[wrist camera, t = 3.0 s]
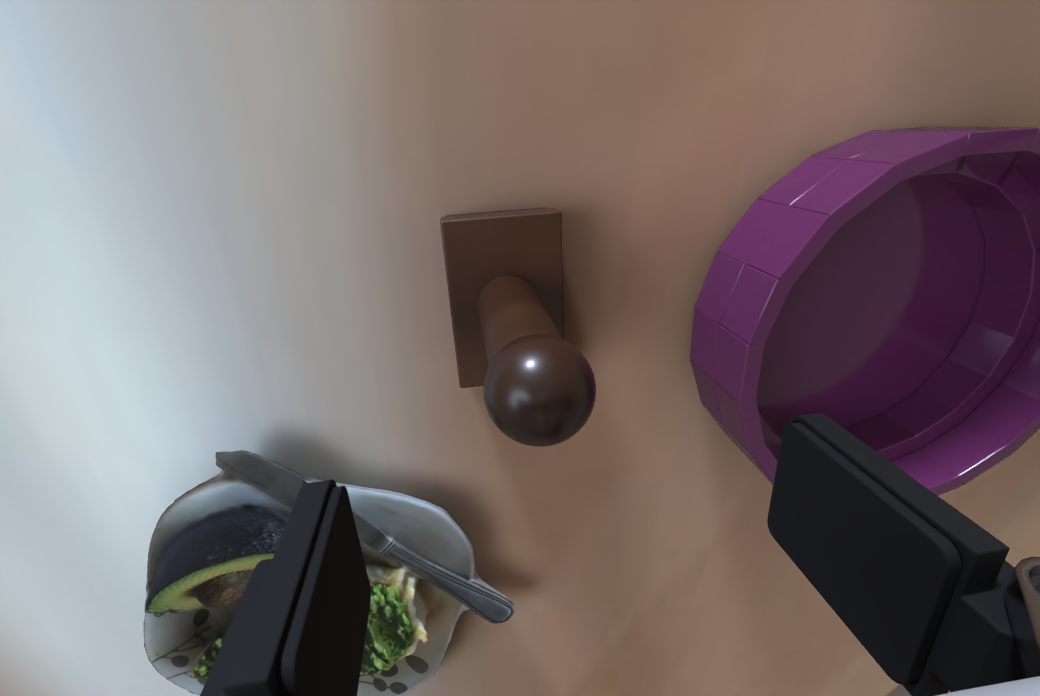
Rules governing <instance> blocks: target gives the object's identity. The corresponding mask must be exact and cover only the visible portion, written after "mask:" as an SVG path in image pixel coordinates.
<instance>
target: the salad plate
mask: <svg viewBox="0 0 1040 696" xmlns="http://www.w3.org/2000/svg"><path fill="white" fill-rule="evenodd" d="M216 465H217V466H218V467H220V468H221V469H222V471H221V472H220V473H219V474H218V475H217V476H215V477H213V478H211V479H210V480H208V481H206V482H204V483H202V484H199V485H198V486H196V487H195V488H193V489H192V490H190V491H188V492H186V493H185V494H183V495H182V496H180V497H179V498H177V499H176V500H175V501H174V503H173V504H172V505H170V506H169V507H168V508H167V509H166V510H165V511H164V512H163V514H162V515H161V517H160V519H159V521H158V523H157V525H156V528H155V530H154V532H153V535H152V539H151V542H150V548H149V553H148V566H147V568H148V571H147V585H146V591H147V597H146V601H145V619H144V646H145V650H146V653H147V656H148V659H149V661H150V662H151V664H152V665H153V666H154V668H155V669H156V670H157V671H158V672H159V673H160V674H161V675H162V676H164V677H165V678H166V679H167V680H169V681H171V682H173V683H174V684H175V685H178V686H180V687H182V688H184V689H186V690H188V691H189V692H190V693H193V694H197V695H200V694H201V692H202V690H203V687H204V685H205V683H206V680H207V678H208V676H209V673H210V671H211V669H212V666H213V664H214V662H215V659H216V657H217V655H218V652H219V650H220V648H221V645H222V643H223V641H224V638H225V636H226V633H227V631H228V629H229V626H230V624H231V622H232V619H233V617H234V615H235V612H236V610H237V608H238V605H239V603H240V601H241V598H242V596H243V594H244V591H245V589H246V587H247V584H248V582H249V580H250V577H251V575H252V573H253V570H254V569H255V567H256V565H257V564H258V563H259V562H260V561H261V560H266V559H272V558H273V557H274V554H275V552H276V549H277V547H278V544H279V542H280V539H281V537H282V534H283V532H284V529H285V526H286V524H287V521H288V519H289V516H290V514H291V511H292V509H293V506H294V504H295V501H296V498H297V496H298V493H299V491H300V488H301V486H302V485H303V484H305V483H311V482H319V481H325V480H320V479H315V478H311V477H307V476H304V475H301V474H299V473H296V472H294V471H293V470H291V469H289V468H287V467H285V466H282V465H280V464H278V463H276V462H273V461H270V460H268V459H265V458H263V457H261V456H259V455H256V454H253V453H251V452H248V451H243V450H241V451H234V452H216ZM336 484H337V486H345V487H346V488H347V492H348V496H349V500H350V504H351V508H352V512H353V516H354V520H355V525H356V529H357V533H358V537H359V541H360V545H361V549H362V553H363V557H364V562H365V566H366V570H367V574H368V578H369V582H370V589H371V603H370V610H369V617H368V624H367V631H366V637H365V644H364V651H363V658H362V665H361V672H360V678H359V685H358V692H357V696H401V695H403V694H405V693H407V692H408V691H410V690H412V689H414V688H415V687H417V686H419V685H420V684H422V683H423V682H424V681H426V680H427V679H428V678H430V677H431V676H432V675H433V674H434V672H435V671H436V669H437V668H438V666H439V665H440V663H441V661H442V659H443V657H444V654H445V652H446V649H447V647H448V644H449V642H450V640H451V638H452V635H453V631H454V629H455V626H456V623H457V621H458V619H459V617H460V616H461V615H462V613H463V612H464V611H466V610H469V609H470V610H473V611H474V612H475V613H476V614H478V615H480V616H481V617H483V618H484V619H486V620H488V621H489V622H491V623H496V624H497V623H502V622H505V621H507V620H509V619H510V618H511V616H512V615H513V613H514V606H513V602H512V601H511V600H510V599H509V598H507V597H506V596H504V595H503V594H502V593H501V592H499V591H497V590H495V589H494V588H492V587H491V586H489V585H488V584H486V583H485V582H484V581H483V580H482V579H481V578H480V577H479V575H478V573H477V571H476V564H475V556H474V555H475V554H474V550H473V549H474V548H473V546H472V544H471V542H470V541H469V539H468V538H467V537H466V535H465V534H464V532H463V531H462V530H461V528H460V527H459V526H458V525H457V524H456V522H455V521H454V520H453V519H452V518H451V516H450V515H449V513H448V512H447V511H446V510H444V509H443V508H441V507H438V506H436V505H434V504H432V503H430V502H428V501H425V500H421V499H418V498H415V497H412V496H409V495H406V494H402V493H399V492H393V491H387V490H383V489H374V488H368V487H361V486H355V485H349V484H343V483H337V482H336Z"/></svg>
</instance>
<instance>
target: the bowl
mask: <svg viewBox="0 0 1040 696" xmlns="http://www.w3.org/2000/svg"><path fill="white" fill-rule="evenodd" d="M690 361H691V365H692V369H693V372H694V376H695V380H696V384H697V388H698V391H699V395H700V399H701V402H702V404H703V405H704V406H705V408H706V409H707V410H708V412H709V413H710V414H711V416H712V417H713V418H714V419H715V421H716V422H717V423H718V425H719V426H720V427H721V429H722V430H723V431H724V433H725V434H726V435H727V436H728V437H729V438H730V439H731V440H732V441H733V442H734V443H735V445H736V446H737V447H738V448H739V449H740V450H741V451H742V452H743V453H744V454H745V455H746V456H747V457H748V459H749V460H750V461H751V462H752V463H753V464H754V465H755V466H756V467H757V468H758V469H759V471H760V472H761V473H762V474H763V475H764V476H765V477H766V478H767V479H768V480H769V481H770V482H771V484H772V485H774V479H775V473H776V467H777V462H778V456H779V450H780V444H781V438H782V433H783V429H784V427H785V425H787V424H789V421H790V420H791V418H792V417H795V416H800V415H807V414H814V413H822V414H824V415H826V416H828V417H829V418H830V419H832V420H833V421H835V422H836V423H837V424H839V425H840V426H842V427H843V428H844V429H846V430H847V431H848V432H850V433H851V434H853V435H854V436H855V437H857V438H858V439H860V440H861V441H862V442H864V443H865V444H866V445H868V446H869V447H871V448H872V449H873V450H875V451H876V452H877V453H879V454H880V455H882V456H883V457H884V458H886V459H887V460H889V461H890V462H891V463H893V464H894V465H895V466H897V467H898V468H900V469H901V470H902V471H904V472H905V473H907V474H908V475H909V476H911V477H912V478H913V479H915V480H916V481H918V482H919V483H920V484H922V485H923V486H924V487H926V488H927V489H929V490H930V491H931V492H933V493H934V494H936V495H937V496H938V495H941V494H943V493H946V492H948V491H951V490H953V489H956V488H958V487H961V486H962V485H964V484H966V483H968V482H969V481H971V480H972V479H974V478H975V477H977V476H978V475H980V474H982V473H983V472H985V471H986V470H988V469H989V468H991V467H992V466H994V465H996V464H997V463H999V462H1000V461H1002V460H1003V459H1005V458H1006V457H1008V456H1010V455H1011V454H1012V453H1013V452H1015V451H1016V450H1017V449H1018V448H1019V447H1021V446H1022V445H1023V444H1024V443H1025V442H1026V441H1027V440H1028V439H1029V438H1030V437H1031V436H1032V435H1033V434H1035V433H1036V432H1037V431H1038V430H1039V429H1040V128H1036V127H919V128H904V129H890V130H875V131H870V132H866V133H864V134H862V135H859V136H857V137H854V138H852V139H850V140H847V141H845V142H843V143H840V144H838V145H835V146H833V147H831V148H828V149H826V150H824V151H821V152H819V153H816V154H814V155H812V156H811V157H809V158H807V159H806V160H805V161H803V162H802V163H801V164H800V165H798V166H797V167H796V168H795V169H793V170H792V171H791V172H790V173H788V174H787V175H786V176H785V177H783V178H782V179H781V180H780V181H778V182H777V183H776V184H775V185H773V186H772V187H771V188H770V189H768V190H767V191H766V192H765V193H763V194H762V195H761V196H759V197H758V199H756V200H755V201H754V203H753V204H752V205H751V207H750V208H749V209H748V211H747V212H746V213H745V215H744V216H743V217H742V219H741V220H740V221H739V223H738V224H737V225H736V227H735V228H734V229H733V231H732V232H731V233H730V235H729V236H728V237H727V238H726V240H725V241H724V242H723V244H722V245H721V246H720V248H719V249H718V251H717V252H716V255H715V257H714V260H713V262H712V265H711V267H710V269H709V272H708V274H707V277H706V279H705V282H704V284H703V287H702V289H701V292H700V294H699V297H698V299H697V302H696V304H695V308H694V319H693V329H692V340H691V351H690Z"/></svg>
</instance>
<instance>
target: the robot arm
mask: <svg viewBox="0 0 1040 696" xmlns="http://www.w3.org/2000/svg"><path fill="white" fill-rule="evenodd" d="M768 527H769V531H770V533H771V535H772V536H773V538H774V539H775V540H776V541H777V543H778V544H779V545H780V546H781V547H782V549H783V550H784V551H785V552H786V553H787V555H788V556H789V557H790V558H791V559H792V561H793V562H794V563H795V564H796V565H797V567H798V568H799V569H800V570H801V571H802V573H803V574H804V575H805V576H806V577H807V579H808V580H809V581H810V582H811V584H812V585H813V586H814V587H815V588H816V590H817V591H818V592H819V593H820V594H821V596H822V597H823V598H824V599H825V600H826V602H827V603H828V604H829V605H830V606H831V608H832V609H833V610H834V611H835V612H836V614H837V615H838V616H839V617H840V618H841V620H842V621H843V622H844V623H845V624H846V626H847V627H848V628H849V629H850V630H851V632H852V633H853V634H854V635H855V636H856V638H857V639H858V640H859V641H860V642H861V644H862V645H863V646H864V647H865V648H866V650H867V651H868V652H869V653H870V655H871V656H872V657H873V658H874V659H875V661H876V662H877V663H878V664H879V665H880V667H881V668H882V669H883V670H884V671H885V673H886V674H887V675H888V676H889V677H890V678H891V679H892V680H893V681H895V682H896V683H899V684H902V685H903V686H904V687H905V688H906V689H907V691H908V692H909V693H910V694H911V695H912V696H1040V557H1030V558H1026V559H1023V560H1021V561H1020V562H1019V563H1018V564H1017V565H1016V567H1015V568H1014V567H1013V566H1012V565H1010V564H1009V563H1008V562H1006V561H1005V558H1006V556H1007V553H1008V551H1009V549H1010V548H1009V547H1007V546H1006V545H1005V544H1003V543H1002V542H1001V541H999V540H998V539H996V538H995V537H994V536H992V535H991V534H989V533H988V532H987V531H985V530H984V529H983V528H981V527H980V526H978V525H977V524H976V523H974V522H973V521H971V520H970V519H969V518H967V517H966V516H965V515H963V514H962V513H960V512H959V511H958V510H956V509H955V508H954V507H952V506H951V505H949V504H948V503H947V502H945V501H944V500H942V499H941V498H940V497H938V496H937V495H936V494H934V493H933V492H931V491H930V490H929V489H927V488H926V487H924V486H923V485H922V484H920V483H919V482H918V481H916V480H915V479H913V478H912V477H911V476H909V475H908V474H907V473H905V472H904V471H902V470H901V469H900V468H898V467H897V466H895V465H894V464H893V463H891V462H890V461H889V460H887V459H886V458H884V457H883V456H882V455H880V454H879V453H877V452H876V451H875V450H873V449H872V448H871V447H869V446H868V445H866V444H865V443H864V442H862V441H861V440H860V439H858V438H857V437H855V436H854V435H853V434H851V433H850V432H848V431H847V430H846V429H844V428H843V427H842V426H840V425H839V424H837V423H836V422H835V421H833V420H832V419H830V418H829V417H828V416H826V415H824V414H822V413H814V414H807V415H800V416H795V417H792V418H791V420H790V421H789V424H787V425H785V427H784V429H783V433H782V438H781V444H780V450H779V456H778V462H777V467H776V473H775V479H774V485H773V490H772V496H771V502H770V508H769V514H768ZM370 603H371V589H370V582H369V578H368V574H367V570H366V566H365V562H364V557H363V553H362V549H361V545H360V541H359V537H358V533H357V529H356V525H355V520H354V516H353V512H352V508H351V504H350V500H349V496H348V492H347V488H346V487H345V486H337V484H336V482H335V481H334V480H326V481H319V482H311V483H305V484H303V485H302V486H301V488H300V491H299V493H298V496H297V498H296V501H295V504H294V506H293V509H292V511H291V514H290V516H289V519H288V521H287V524H286V526H285V529H284V532H283V534H282V537H281V539H280V542H279V544H278V547H277V549H276V552H275V554H274V557H273V558H272V559H266V560H261V561H260V562H259V563H258V564H257V565H256V567H255V569H254V570H253V573H252V575H251V577H250V580H249V582H248V584H247V587H246V589H245V591H244V594H243V596H242V598H241V601H240V603H239V605H238V608H237V610H236V612H235V615H234V617H233V619H232V622H231V624H230V626H229V629H228V631H227V633H226V636H225V638H224V641H223V643H222V645H221V648H220V650H219V652H218V655H217V657H216V659H215V662H214V664H213V666H212V669H211V671H210V673H209V676H208V678H207V680H206V683H205V685H204V687H203V690H202V692H201V694H200V696H357V692H358V685H359V678H360V672H361V665H362V658H363V651H364V644H365V637H366V631H367V624H368V617H369V610H370ZM949 690H950V691H951V692H950V693H948V691H949Z"/></svg>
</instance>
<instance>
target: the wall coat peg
mask: <svg viewBox="0 0 1040 696" xmlns="http://www.w3.org/2000/svg"><path fill="white" fill-rule="evenodd" d="M440 224H441V232H442V240H443V249H444V257H445V266H446V274H447V283H448V291H449V299H450V308H451V316H452V325H453V333H454V341H455V350H456V358H457V367H458V375H459V384H460V387H461V388H466V387H475V386H483V385H484V400H485V404H486V408H487V411H488V413H489V415H490V417H491V419H492V420H493V422H494V423H495V425H496V426H497V427H498V428H499V429H500V430H501V431H502V432H503V433H504V434H505V435H506V436H508V437H509V438H511V439H513V440H515V441H517V442H519V443H521V444H525V445H529V446H540V447H542V446H551V445H555V444H558V443H561V442H563V441H565V440H567V439H569V438H570V437H572V436H573V435H575V434H576V433H577V432H578V431H579V430H580V429H581V428H582V427H583V426H584V424H585V423H586V422H587V420H588V418H589V416H590V414H591V412H592V409H593V407H594V403H595V396H596V384H595V379H594V374H593V371H592V369H591V367H590V364H589V363H588V361H587V359H586V358H585V357H584V355H583V354H582V353H581V352H580V351H579V350H578V349H577V348H576V347H575V346H573V345H572V344H571V343H569V342H568V341H566V340H564V311H563V264H562V217H561V211H559V210H558V209H557V208H535V209H523V210H510V211H498V212H485V213H473V214H460V215H448V216H445V217H441V219H440Z"/></svg>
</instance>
